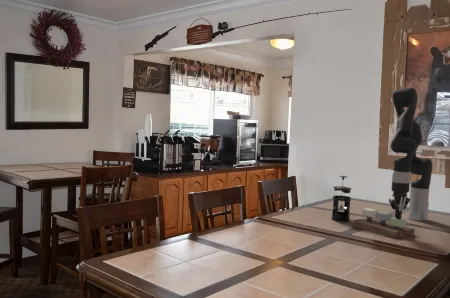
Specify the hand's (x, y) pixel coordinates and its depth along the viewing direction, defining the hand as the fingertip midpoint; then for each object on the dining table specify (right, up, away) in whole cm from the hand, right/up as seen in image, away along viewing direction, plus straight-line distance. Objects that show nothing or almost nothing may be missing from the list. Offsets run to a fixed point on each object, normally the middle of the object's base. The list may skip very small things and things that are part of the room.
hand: (398, 218), depth 193 cm
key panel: (-4, -7, +7) cm, 11 cm away
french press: (-19, -5, +26) cm, 33 cm away
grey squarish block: (-4, -4, +7) cm, 9 cm away
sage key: (0, -6, 0) cm, 6 cm away
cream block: (-9, -3, +14) cm, 17 cm away
